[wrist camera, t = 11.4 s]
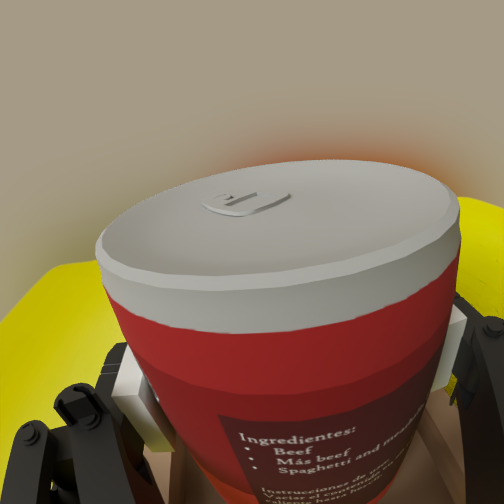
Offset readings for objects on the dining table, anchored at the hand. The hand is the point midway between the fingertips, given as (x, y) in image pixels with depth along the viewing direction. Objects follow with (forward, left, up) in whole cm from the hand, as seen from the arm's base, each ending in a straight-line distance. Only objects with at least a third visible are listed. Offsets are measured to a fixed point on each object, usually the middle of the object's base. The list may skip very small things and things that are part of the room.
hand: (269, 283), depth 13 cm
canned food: (+3, +3, -6) cm, 8 cm away
